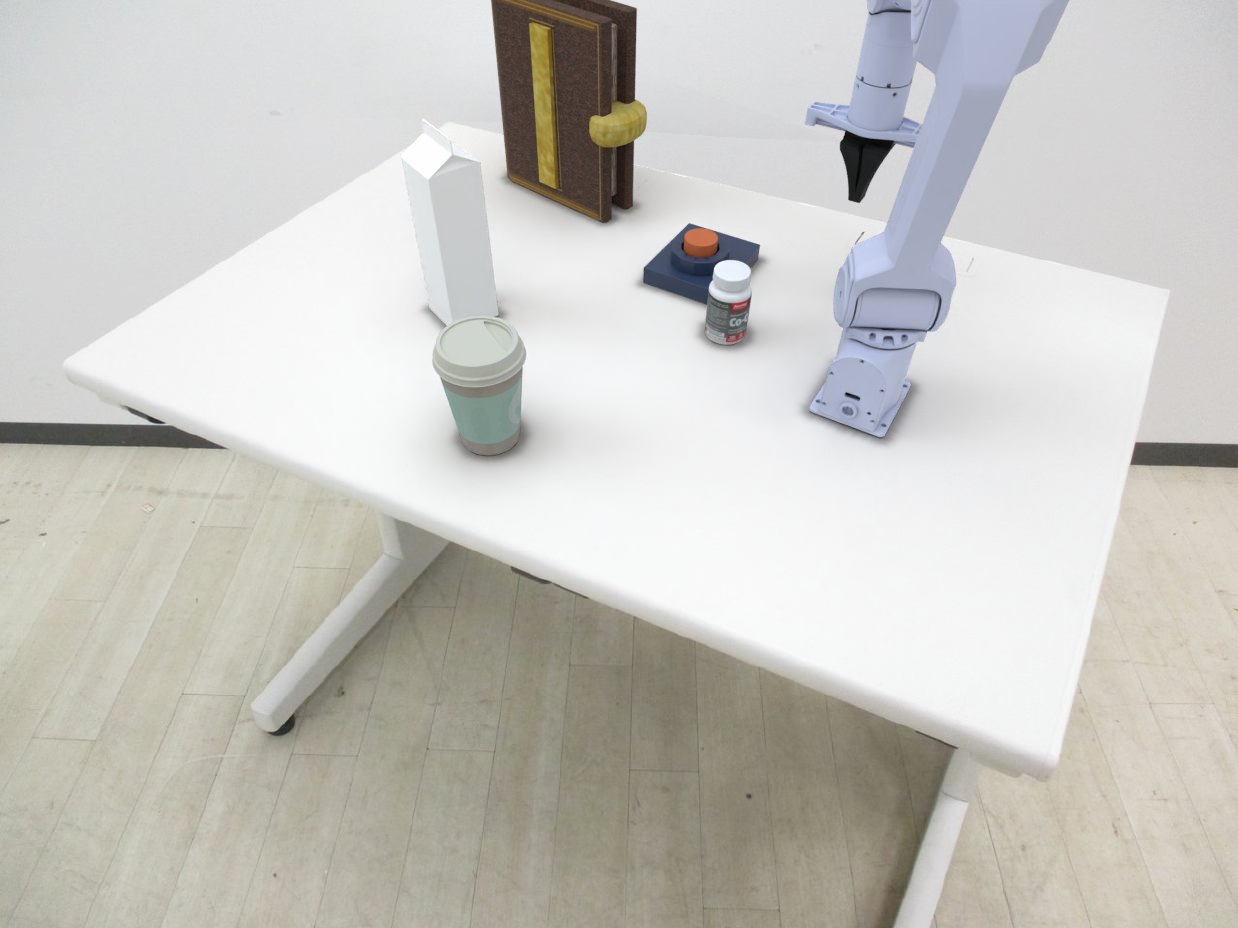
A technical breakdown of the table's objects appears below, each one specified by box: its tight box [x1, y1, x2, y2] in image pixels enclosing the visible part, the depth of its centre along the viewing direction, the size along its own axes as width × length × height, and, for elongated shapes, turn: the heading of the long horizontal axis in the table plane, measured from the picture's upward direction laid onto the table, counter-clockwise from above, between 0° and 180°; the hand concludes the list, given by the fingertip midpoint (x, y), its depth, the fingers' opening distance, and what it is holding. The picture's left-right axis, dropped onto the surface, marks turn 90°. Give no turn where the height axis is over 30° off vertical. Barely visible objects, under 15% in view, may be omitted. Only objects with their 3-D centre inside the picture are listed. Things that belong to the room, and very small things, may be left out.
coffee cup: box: [431, 316, 527, 456], centre depth 80 cm, size 8×8×12 cm
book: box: [490, 0, 648, 224], centre depth 109 cm, size 22×8×25 cm, turn 50°
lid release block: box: [642, 222, 761, 305], centre depth 104 cm, size 12×10×4 cm
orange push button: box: [684, 228, 718, 257], centre depth 101 cm, size 4×4×2 cm
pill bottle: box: [704, 260, 753, 346], centre depth 93 cm, size 5×5×8 cm
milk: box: [400, 118, 500, 327], centre depth 91 cm, size 6×6×22 cm
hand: (856, 198), depth 97 cm, fingers closed
